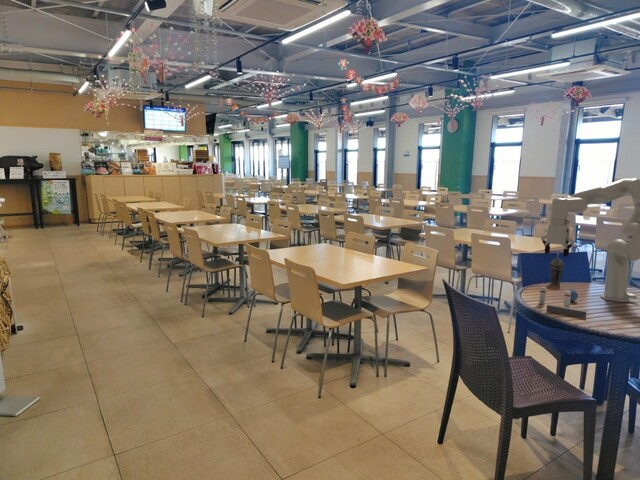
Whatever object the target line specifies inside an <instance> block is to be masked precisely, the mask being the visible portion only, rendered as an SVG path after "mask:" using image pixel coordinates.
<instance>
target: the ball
mask: <svg viewBox="0 0 640 480" xmlns="http://www.w3.org/2000/svg"><path fill="white" fill-rule="evenodd" d="M566 291H571V298H570V302H575V301H577V300H578V297H579V293H578V292H577V291H576V290H575V289H567V290H566Z"/></svg>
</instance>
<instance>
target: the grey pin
mask: <svg viewBox="0 0 640 480" xmlns="http://www.w3.org/2000/svg"><path fill="white" fill-rule="evenodd" d="M546 290H547V287H545V286H541V287H540V291H539V302H538V304H539V305H541V304H543V305H545V303H546V294H547V293H546ZM543 305H542V306H543Z"/></svg>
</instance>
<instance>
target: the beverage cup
mask: <svg viewBox="0 0 640 480" xmlns="http://www.w3.org/2000/svg"><path fill="white" fill-rule="evenodd" d="M559 251H560V250H557V256H556V257H557V258H556V257H555V258H553V259H552V260H551V262H550V263H549V266H550V284H551V285H554V286H560V284H561V280H562V279H561V278H562V274H563V269H564V266H565V264H564V261H563V259H561V258H559V253H560V252H559Z"/></svg>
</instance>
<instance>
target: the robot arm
mask: <svg viewBox="0 0 640 480" xmlns="http://www.w3.org/2000/svg"><path fill="white" fill-rule="evenodd" d="M626 196H627V197H628V196H630V197H631V199H632V202H633V204H634V210H633V213H632V214H631V215H630V216H629V218H628V220H627V221H626V223H625V224H624V226H622V227H623V228H622V229H621V235H622V236H623V238H625V239H626V240H625V239H623V238H622V239H621V238H619V239H618V238H617V239H613V240H611V241H610V242H608V244H607V247H606V254H607V267H606V274H605V275H606V276H605V283H604V284H605V285H604V293H601V294H600V295H599V297H600V298H601V299H603V300H606V301H610V302H611V301H612V302H617V303H626V302H630V299H635V300H637V299H638V295H637V294H634V293H633V294H632V293H629V292H628V282H629V275H630V262H636V261H638V260H640V179H639V178H622V179H618V180H615V181H612V182H610V183H608V184H607V183H606V184H605V185H602V186H599V187H596V188H595V187H594V188H591V189H587V190H584V191H583V190H582V191H580V192H576V193H574V194H570V195H568V196H565V197H555V198H553V199H552V201H551V214H550V224H549V225H548V227H547V232H546V235H543V236H541V237H540V239H541V242H542V244H543V245H544V254H550V253H551V244H552V245H561V246H562V247H563V248H564V249H563V254H562V257H565V258H566V257H569V251H570V249H571V248H572V247H574V244H575V243H576V241H575V240H574V239H573V238H571V237H570V236H571V234H570V226H569V224H570V220H569V219H568V216H569V213H575V214H576V213H578V214H579V213H583V212H585V211H586V210H587V209H588V205H599V204H600V205H601V204H606V203H610V202H611V201H615V200H617V199H620V198H623V197H626Z"/></svg>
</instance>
